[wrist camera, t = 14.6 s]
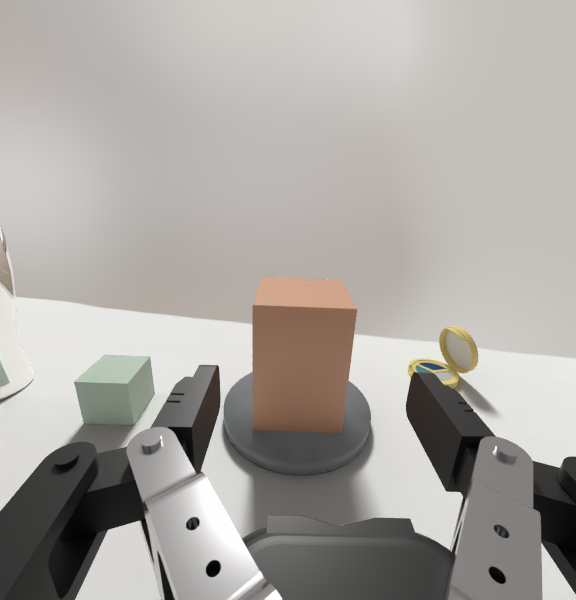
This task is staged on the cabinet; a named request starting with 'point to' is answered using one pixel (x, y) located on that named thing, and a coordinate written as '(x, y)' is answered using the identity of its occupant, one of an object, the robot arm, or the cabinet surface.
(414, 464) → the cabinet surface
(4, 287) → the beer glass
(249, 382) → the grey round puck
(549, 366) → the cabinet surface
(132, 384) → the block
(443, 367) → the eyeshadow
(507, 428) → the cabinet surface
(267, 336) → the peach pillar
